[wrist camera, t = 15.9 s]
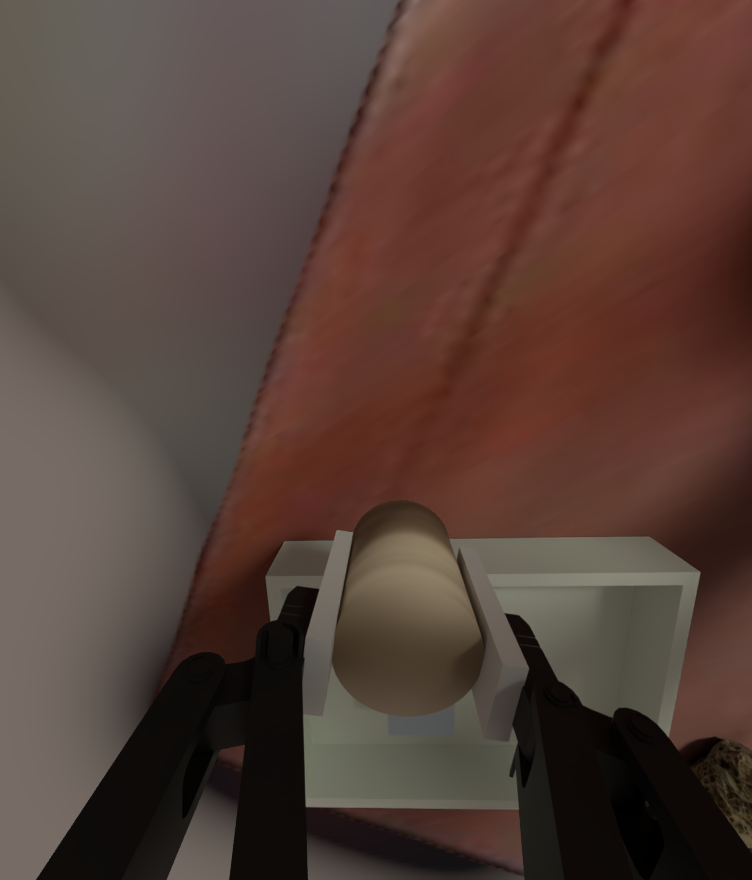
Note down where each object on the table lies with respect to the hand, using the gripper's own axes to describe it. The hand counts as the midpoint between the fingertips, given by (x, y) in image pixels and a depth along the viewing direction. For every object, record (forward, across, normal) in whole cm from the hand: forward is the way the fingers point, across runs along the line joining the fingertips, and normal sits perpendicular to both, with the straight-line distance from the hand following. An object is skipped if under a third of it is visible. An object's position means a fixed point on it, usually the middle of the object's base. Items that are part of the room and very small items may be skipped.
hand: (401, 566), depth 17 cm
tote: (+13, +8, -15) cm, 22 cm away
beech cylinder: (+2, 0, 0) cm, 2 cm away
